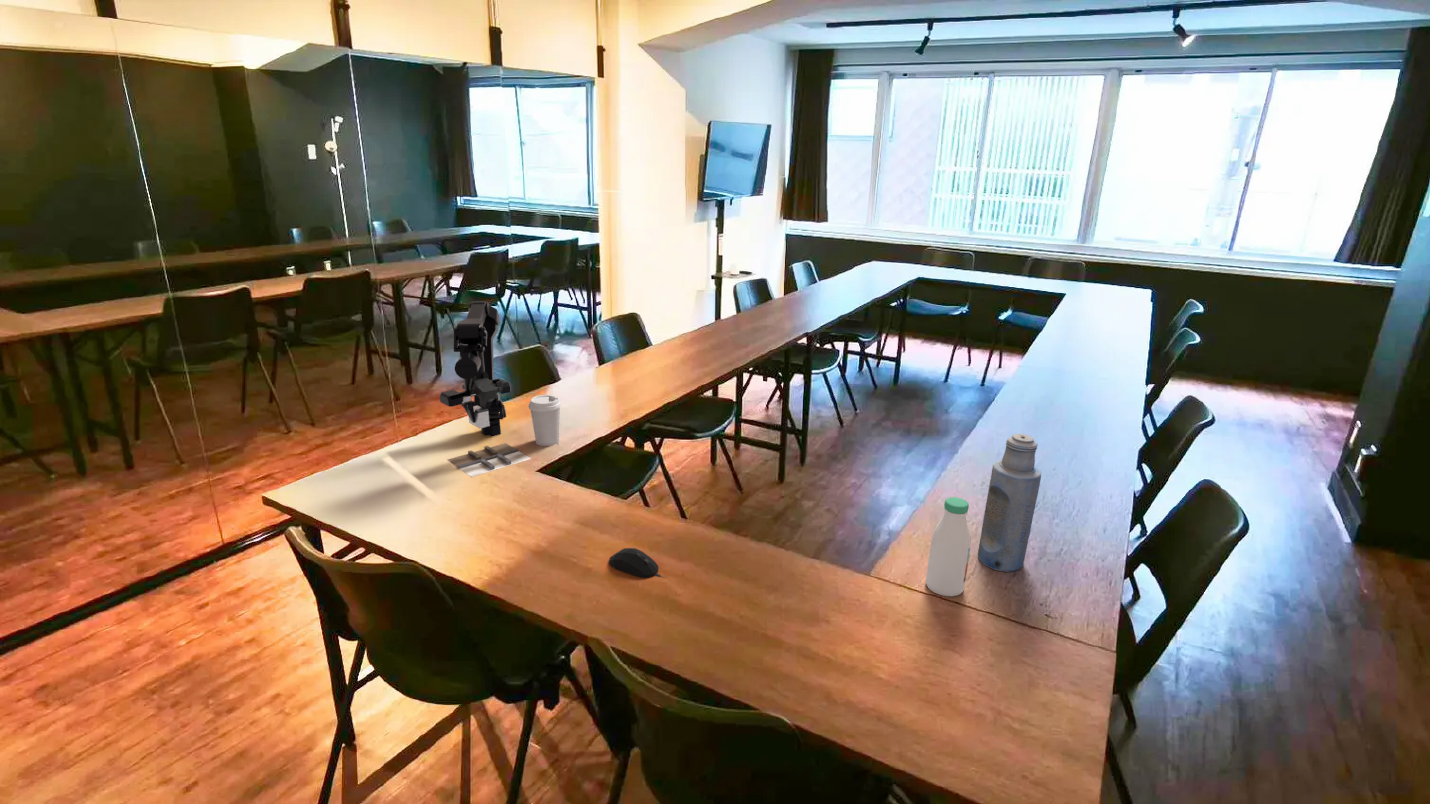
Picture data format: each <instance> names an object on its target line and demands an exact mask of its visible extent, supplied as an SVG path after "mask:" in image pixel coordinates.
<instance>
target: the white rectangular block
mask: <svg viewBox="0 0 1430 804" xmlns="http://www.w3.org/2000/svg"><path fill="white" fill-rule="evenodd" d="M473 408H474V415H475V423H473V422H472V421H471V419H470V418H469V417H468V423H469V424H471V425H472V426H473V427H474V426H475V427H476V428H478V429H481V428H484V427H487V426H490V424H489V413H488V409H487V408H485V407H484V408H482V407H480V406H478V405H477V406H473Z"/></svg>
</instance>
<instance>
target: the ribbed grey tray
mask: <svg viewBox="0 0 1430 804" xmlns="http://www.w3.org/2000/svg"><path fill="white" fill-rule="evenodd" d="M483 448H484V449H480V450H477V451H473V450H468V451H467V453H466V454H462V455H458V456H455V457H451V458H448V459H447V461H448V462H450V463H451V464H453V465H454V466H455V467H456V468H458V469H459V470H461V471H462V472H463V473H465V474H466V475H467V476H469V477H470V478H473V477H477V476H480V475H484V474H487V473H490V472H492V471H495V470H499V469H502V468H506V467H510V466H513V465H515V464H519V463H523V462H527V461H528V460H531V459H532V458H531V457H529V456H528V455H526V454H524V453H523V452H521V451H520V449H519V448H515V447H513V446H511V445H510V444H508V443H506V442H504V443H501V444H498V445H495V446H491V447H490V446H488V445H484V446H483Z"/></svg>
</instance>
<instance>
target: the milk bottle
mask: <svg viewBox="0 0 1430 804" xmlns="http://www.w3.org/2000/svg"><path fill="white" fill-rule="evenodd" d="M969 505H970V504H969V502H968V501H967V500H966V499H964V498H961V497H956V496H949V497H948V498H945V500H944V505H943V507H944V508H943V511H944V513H943V515H942V517H941V519H940V520H939V522H938V523H937V525H936V526H935V527H934V530H933V533H932V536H931V541H930V547H929V555H928V562H927V568H926V569H927V570H926V577H925V585H926V586H927V587H928V589H929V590H930V591H931V592H932V593H935V594H937V595H940V596H943V597H950V598H952V597H956V596H959V595H961V594H962V593H963V592H964V589H965V584H966V579H967V574H968V573H967V572H968V567H969V559H970V552H971V544H972V541H971V540H972V536H971V531H970V528H969V527H968V526H969V525H968V523H967V515H968V511H969Z"/></svg>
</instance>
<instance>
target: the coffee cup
mask: <svg viewBox="0 0 1430 804" xmlns="http://www.w3.org/2000/svg"><path fill="white" fill-rule="evenodd" d="M561 407H562V402H561V400H560V399H559V397H558V396H556V395H553V394H541V395H536V396H533V397H532V398H531V399H530V400H529V404H528V409H529V410H530V414H531V420H532V426H533V432H534V433H533V434H534V438H535V443H536V445H538V446H540V447H541V446H543V447H548V446H549V447H550V446H554V445H557V446H560V445H559V443H560V419H561V418H560V414H561Z"/></svg>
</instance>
